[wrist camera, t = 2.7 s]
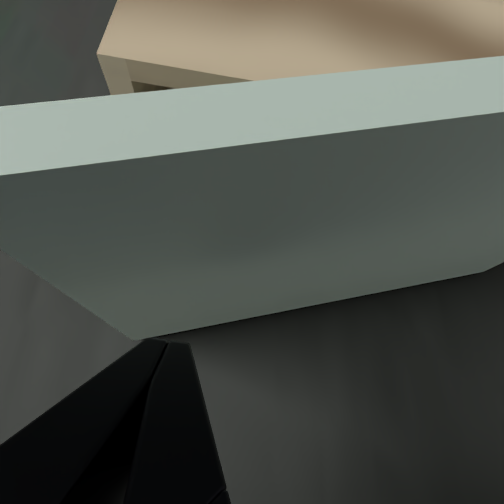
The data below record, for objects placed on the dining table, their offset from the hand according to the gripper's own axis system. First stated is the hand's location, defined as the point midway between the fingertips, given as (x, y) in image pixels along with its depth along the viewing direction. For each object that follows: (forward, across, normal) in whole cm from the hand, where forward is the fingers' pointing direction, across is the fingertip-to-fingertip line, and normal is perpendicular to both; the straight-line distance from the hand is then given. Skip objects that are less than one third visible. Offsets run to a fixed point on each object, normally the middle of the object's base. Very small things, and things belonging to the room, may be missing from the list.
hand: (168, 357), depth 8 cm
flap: (+9, -5, +3) cm, 10 cm away
